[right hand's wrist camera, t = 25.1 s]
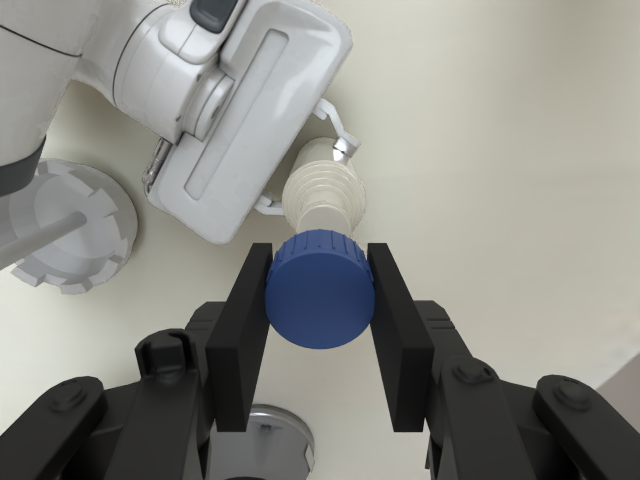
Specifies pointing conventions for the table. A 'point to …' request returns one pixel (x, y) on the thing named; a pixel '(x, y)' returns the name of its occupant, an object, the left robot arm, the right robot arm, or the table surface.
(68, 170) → the flag stand
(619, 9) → the table surface
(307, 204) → the bottle
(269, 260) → the right robot arm
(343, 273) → the cap
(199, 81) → the left robot arm
